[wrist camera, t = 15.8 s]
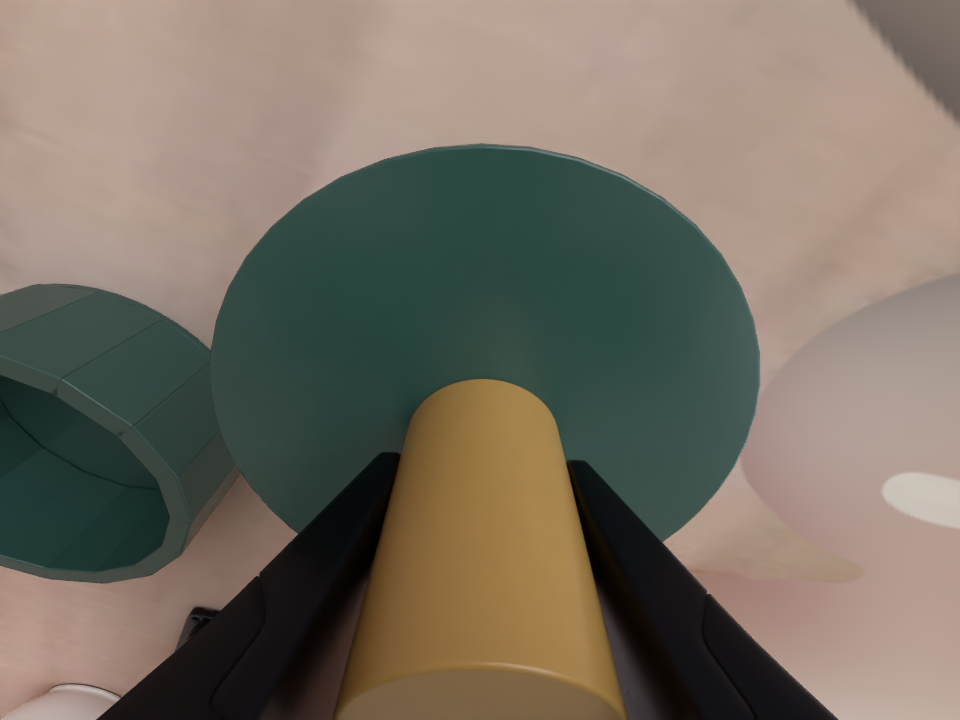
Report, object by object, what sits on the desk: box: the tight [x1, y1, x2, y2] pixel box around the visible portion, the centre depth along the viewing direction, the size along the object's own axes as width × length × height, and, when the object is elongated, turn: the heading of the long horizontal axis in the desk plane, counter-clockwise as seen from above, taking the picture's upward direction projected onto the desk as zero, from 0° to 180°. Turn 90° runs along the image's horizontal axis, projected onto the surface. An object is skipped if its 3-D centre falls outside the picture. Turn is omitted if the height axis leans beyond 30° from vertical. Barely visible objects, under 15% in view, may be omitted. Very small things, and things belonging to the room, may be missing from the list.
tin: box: [0, 284, 240, 584], centre depth 17 cm, size 12×12×5 cm
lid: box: [210, 143, 760, 720], centre depth 8 cm, size 13×13×7 cm
